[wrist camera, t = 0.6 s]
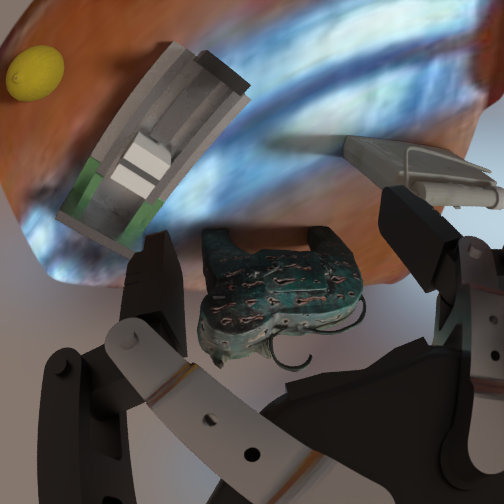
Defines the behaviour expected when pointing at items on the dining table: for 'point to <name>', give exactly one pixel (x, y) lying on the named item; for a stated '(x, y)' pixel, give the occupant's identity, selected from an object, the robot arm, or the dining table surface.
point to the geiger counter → (424, 172)
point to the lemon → (34, 73)
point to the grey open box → (120, 136)
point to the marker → (142, 164)
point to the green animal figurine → (274, 294)
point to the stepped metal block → (196, 95)
